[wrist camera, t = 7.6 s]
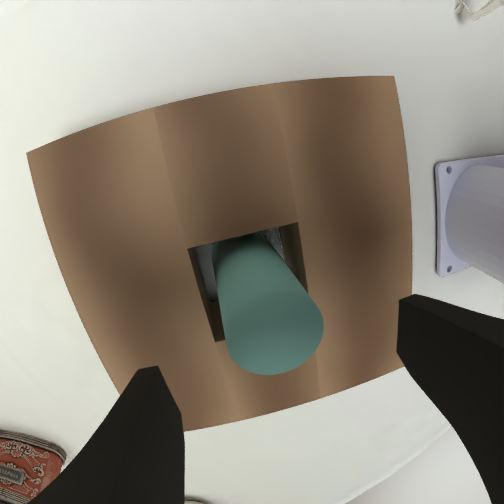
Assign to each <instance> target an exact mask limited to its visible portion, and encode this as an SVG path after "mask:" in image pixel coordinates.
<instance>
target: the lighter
mask: <svg viewBox="0 0 504 504" xmlns="http://www.w3.org/2000/svg"><path fill="white" fill-rule="evenodd" d="M66 456H67V455H66V452H65V451H64V450H63V449H62V448H61V447H60V446H58V445H57V444H55V443H52V442H49V441H46V440H43V439H40V438H37V437H33V436H30V435H26V434H23V433H18V432H13V431H7V430H0V504H27V503H28V502H29V501H31V500H32V499H33V498H34V497H36V496H37V495H38V494H39V493H40V492H41V491H42V490H43V489H44V488H45V487H47V486H48V485H49V484H50V483H51V482H52V481H53V480H54V479H55V478H56V477H57V476H58V475H59V474H60V471H61V467H62V465H64V463H65V460H66Z"/></svg>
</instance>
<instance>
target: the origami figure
mask: <svg viewBox="0 0 504 504" xmlns="http://www.w3.org/2000/svg"><path fill="white" fill-rule="evenodd" d="M502 5H504V0H490V1H489V2H488V3H487V4H486V5H485V6H484V7H483V8H481V9H480V10H479V11H478V12H476V13H474V14H473V13H472V12H471V11H470V9H469V8H468V7H467V5H466V4H465V3H464V2H463V1H462V2H461V4H460V5H459V6H458V7H457V9H456V10H455V11H456V13H457V14H459V13H460V12H461V11H462V9H463V8H464V7H465V8H466V9H467V11H468V13H469V14H470V16H471V18H472V19H473V21H474V20H477V19H479V18H480V17H483V16H485V15H487V14H489V13H490V12H492V11H493V10H495V9H497V8H498V7H500V6H502Z"/></svg>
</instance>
